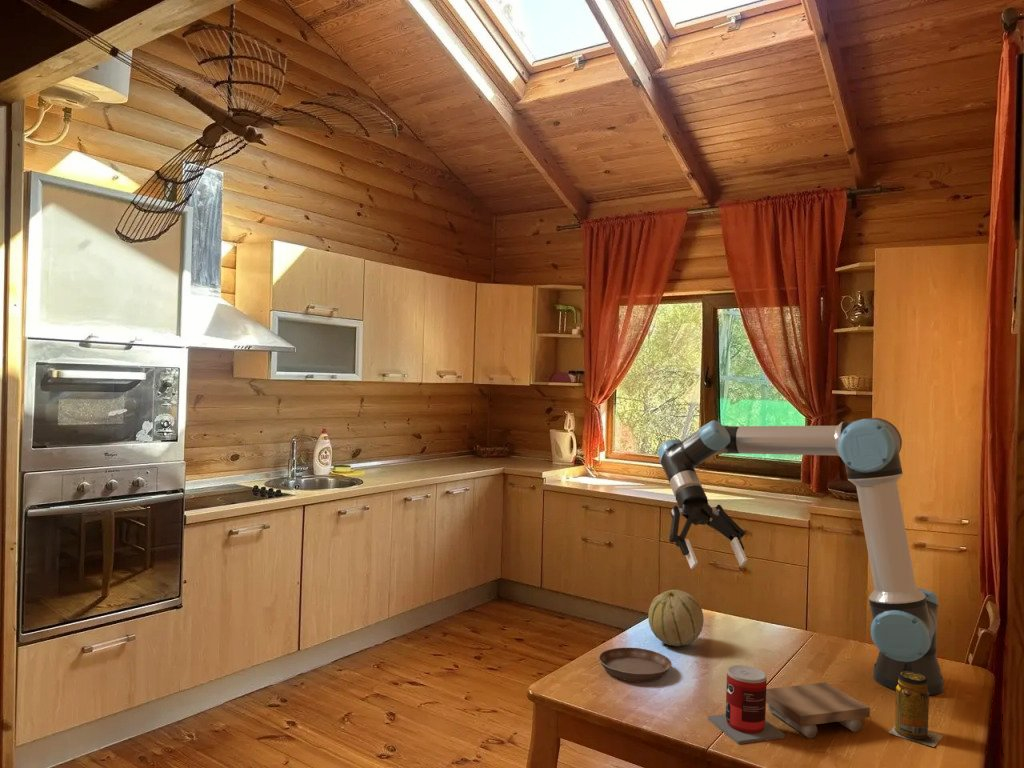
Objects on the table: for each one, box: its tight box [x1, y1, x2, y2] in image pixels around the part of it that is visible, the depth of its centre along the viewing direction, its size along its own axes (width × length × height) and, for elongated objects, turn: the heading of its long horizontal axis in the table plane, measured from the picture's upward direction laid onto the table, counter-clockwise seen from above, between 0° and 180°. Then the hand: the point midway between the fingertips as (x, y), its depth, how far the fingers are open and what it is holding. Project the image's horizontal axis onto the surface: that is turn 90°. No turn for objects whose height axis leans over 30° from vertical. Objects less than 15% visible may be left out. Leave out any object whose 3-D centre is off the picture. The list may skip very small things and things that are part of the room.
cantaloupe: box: [647, 589, 704, 647], centre depth 201 cm, size 15×15×15 cm
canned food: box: [725, 664, 768, 733], centre depth 153 cm, size 8×8×11 cm
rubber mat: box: [707, 713, 786, 745], centre depth 153 cm, size 11×11×1 cm
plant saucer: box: [598, 647, 673, 683], centre depth 182 cm, size 18×18×3 cm
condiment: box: [887, 672, 944, 748], centre depth 152 cm, size 7×8×12 cm
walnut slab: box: [766, 682, 871, 739], centre depth 157 cm, size 17×13×5 cm
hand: (719, 564), depth 178 cm, fingers open, 13 cm apart
